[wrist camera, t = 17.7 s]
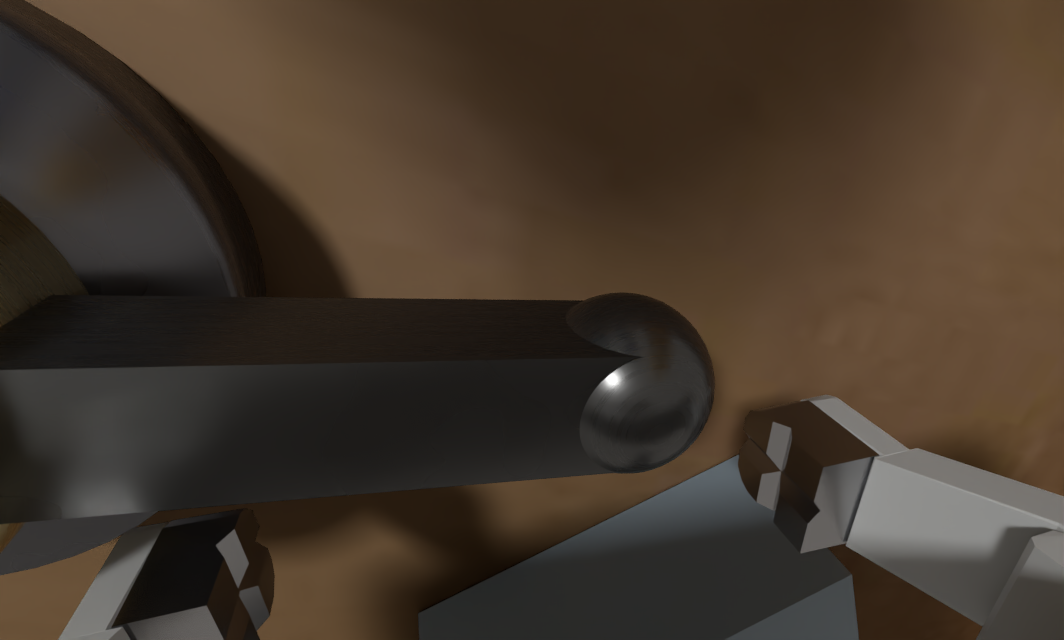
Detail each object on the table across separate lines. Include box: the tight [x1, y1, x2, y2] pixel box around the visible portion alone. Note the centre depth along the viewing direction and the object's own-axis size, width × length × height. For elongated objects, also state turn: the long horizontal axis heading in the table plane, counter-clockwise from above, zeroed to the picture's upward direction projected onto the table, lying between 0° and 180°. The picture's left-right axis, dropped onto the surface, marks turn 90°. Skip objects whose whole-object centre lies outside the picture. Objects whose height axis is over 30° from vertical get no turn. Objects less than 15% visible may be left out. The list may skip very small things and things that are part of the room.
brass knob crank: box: [0, 195, 715, 553], centre depth 6 cm, size 14×6×3 cm, turn 83°
